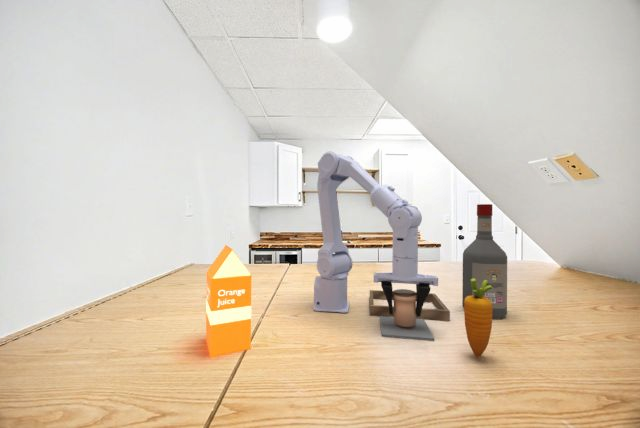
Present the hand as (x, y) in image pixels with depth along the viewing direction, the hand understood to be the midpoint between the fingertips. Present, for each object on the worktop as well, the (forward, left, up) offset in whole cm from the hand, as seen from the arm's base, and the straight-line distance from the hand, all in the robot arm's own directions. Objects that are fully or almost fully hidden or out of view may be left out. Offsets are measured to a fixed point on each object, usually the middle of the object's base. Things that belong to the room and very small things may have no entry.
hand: (404, 314), depth 65 cm
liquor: (+23, +15, -4) cm, 28 cm away
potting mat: (0, 0, -3) cm, 3 cm away
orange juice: (-37, -15, -4) cm, 40 cm away
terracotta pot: (0, +1, -2) cm, 2 cm away
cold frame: (+2, +15, -3) cm, 15 cm away
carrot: (+12, -11, -4) cm, 17 cm away
